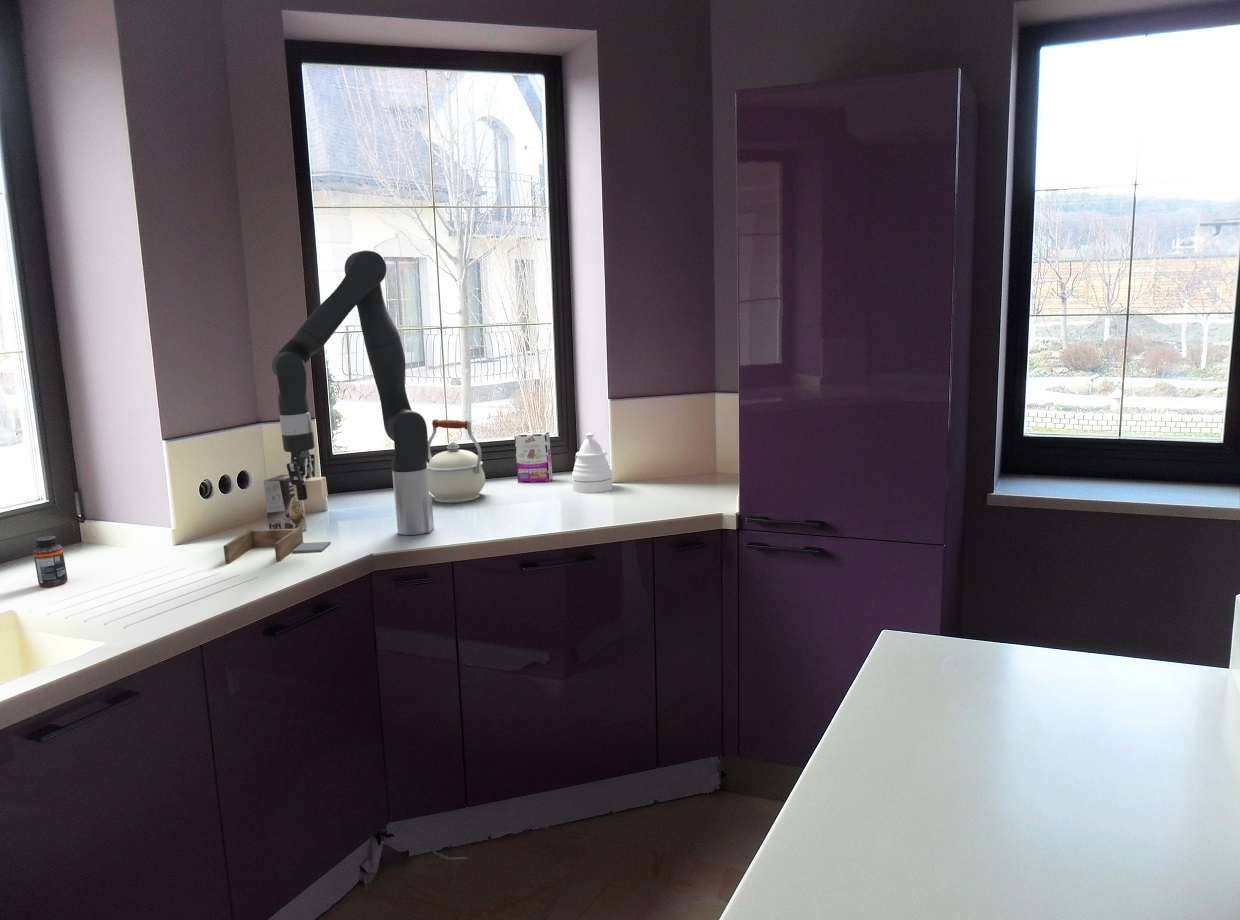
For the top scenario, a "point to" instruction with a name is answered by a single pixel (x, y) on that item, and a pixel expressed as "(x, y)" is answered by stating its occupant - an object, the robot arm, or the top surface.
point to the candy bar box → (533, 457)
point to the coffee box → (283, 504)
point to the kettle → (455, 468)
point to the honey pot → (591, 468)
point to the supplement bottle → (49, 562)
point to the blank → (314, 489)
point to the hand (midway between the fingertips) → (305, 497)
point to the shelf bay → (264, 542)
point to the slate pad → (311, 547)
